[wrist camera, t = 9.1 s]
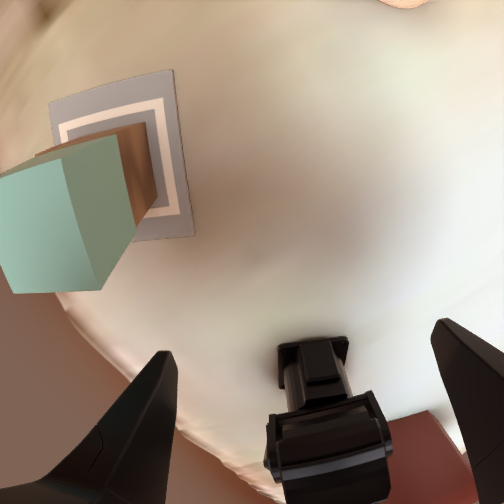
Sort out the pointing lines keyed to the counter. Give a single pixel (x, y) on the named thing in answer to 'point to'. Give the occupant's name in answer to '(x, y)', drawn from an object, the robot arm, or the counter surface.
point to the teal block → (65, 218)
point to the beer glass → (404, 3)
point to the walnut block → (129, 164)
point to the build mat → (159, 138)
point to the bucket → (427, 464)
